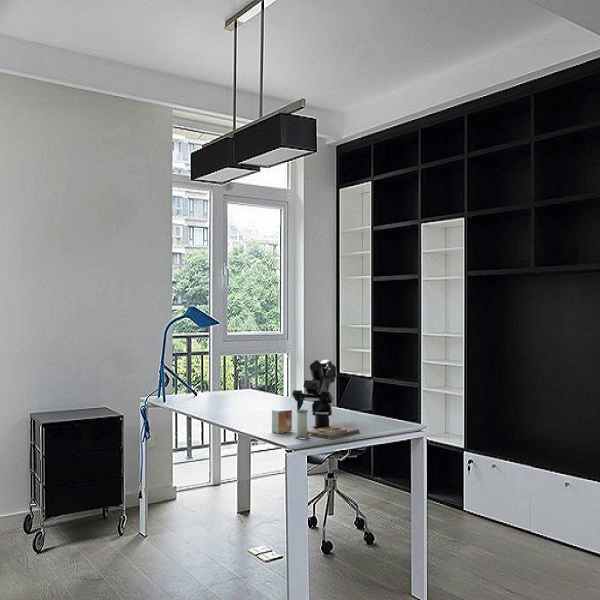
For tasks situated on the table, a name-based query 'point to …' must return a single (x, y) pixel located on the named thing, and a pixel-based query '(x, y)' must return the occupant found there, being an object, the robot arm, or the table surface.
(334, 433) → the notched board
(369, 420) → the table surface
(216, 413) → the table surface
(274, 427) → the small box
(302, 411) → the bobbin
